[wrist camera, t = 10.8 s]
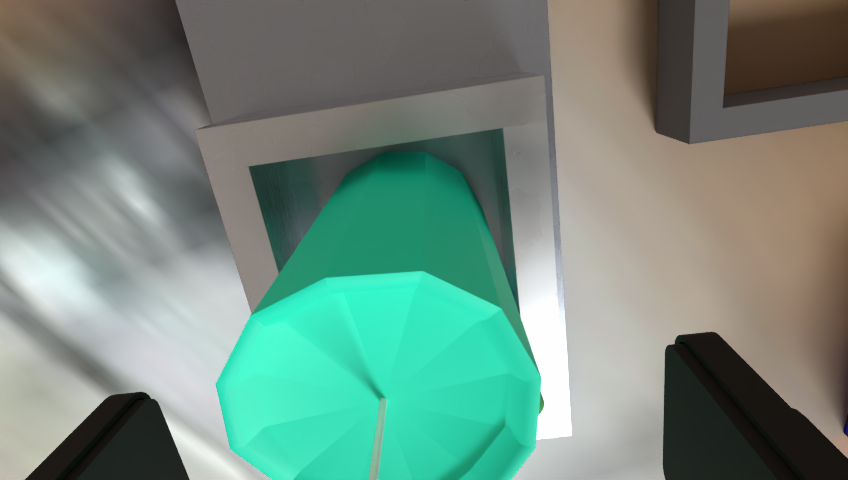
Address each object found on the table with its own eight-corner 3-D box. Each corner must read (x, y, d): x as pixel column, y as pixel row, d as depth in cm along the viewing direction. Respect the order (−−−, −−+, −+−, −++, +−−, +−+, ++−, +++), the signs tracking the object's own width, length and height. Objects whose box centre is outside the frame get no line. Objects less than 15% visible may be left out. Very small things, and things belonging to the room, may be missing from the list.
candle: (305, 173, 18) (101, 370, 7) (463, 129, 17) (527, 268, 6) (355, 311, 20) (263, 639, 9) (499, 277, 19) (595, 582, 8)
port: (532, -134, 15) (571, -204, 11) (565, 419, 23) (596, 501, 19) (169, -67, 16) (77, -110, 12) (318, 448, 24) (295, 532, 20)
